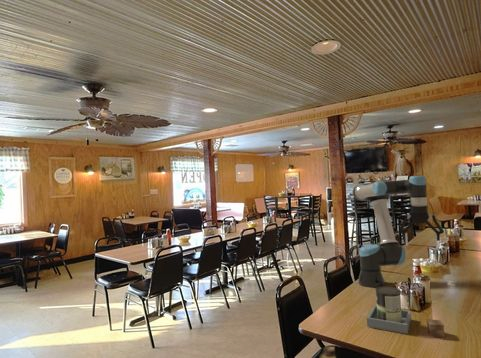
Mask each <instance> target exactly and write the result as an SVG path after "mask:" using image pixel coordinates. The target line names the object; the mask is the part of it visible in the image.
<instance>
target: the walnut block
mask: <svg viewBox="0 0 481 358" xmlns="http://www.w3.org/2000/svg"><path fill="white" fill-rule="evenodd" d="M426 326H427V332H428V334H429V336H430V337H435V338H443V339H444V338H445V325H444V323H443V321H442V320H440V319H429V318H427V319H426Z"/></svg>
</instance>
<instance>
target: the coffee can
mask: <svg viewBox="0 0 481 358" xmlns="http://www.w3.org/2000/svg"><path fill="white" fill-rule="evenodd" d="M375 298H376V306H377V318H378V319H380V320H386V321H392V322H398V323H402V315H401V310H402V300H401V289H399V288H396V287H393V286H387V285H384V286H381V287H375Z"/></svg>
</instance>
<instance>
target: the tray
mask: <svg viewBox="0 0 481 358" xmlns="http://www.w3.org/2000/svg"><path fill="white" fill-rule="evenodd" d="M401 315H402V323H398V322H392V321H386V320H380V319H378V318H377V305H373V306H372V308H371V310H370V312H369V313H368V315H367V317H366V326H367V327H368V328H372V329H378V330H383V331H389V332H395V333H400V334H404V335H408V334H409V330H410V326H411V322H412V311H411V310H406V309H401Z"/></svg>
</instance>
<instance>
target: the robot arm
mask: <svg viewBox="0 0 481 358" xmlns="http://www.w3.org/2000/svg"><path fill="white" fill-rule="evenodd" d="M403 194H404V195H405V194H406V195H407V194H409V195H410V205H411V206H410V212H411V214H405V215H404V220H403V221H402V223H401V225H400V228H399V229H398V232H399V233H401V234H402V239H403V240H405V247H408V246H409V242H408V240H409V239H408V230H410V228H411V227H413V225H414V224H422V225H423V224H426V225H427V226H428V227H429V228H430V229H431V230H432V231H433V232H434V233H435V234H434V238H435V241H434V242H435V248H438V247H439V244H438V242H439V241H440V240H441V236H440V235H441V234H442V235H443V233H444V230H443V228H442V226H441V225H440V222H438V220H437V219H436V215H435V214H429V211H428V195H427V180H426V176H425V175H411V176H409V178H408V179H399V180H397V179H396V180H379V181H378V180H377V181H374V182H373V183H372V182H370V183H368V182H367V183H359V184H357V185H355V186H354V187H353V189H352V196H353V197H354V198H355V199H356V200H357V201H360V202H361V201H362V202H368V201H369V205H371V206H372V208H373V211H374V216H375V221H376V225H377V230H378V234H379V239H380V243H379V244H375V243H374V244H371V243H370V244H365V245H363V246H361V247H360V248H359V261H360V263H359V265H360V272H359V276H358V281H357V282H358V284H359V285H360V286H364V287H369V288H377V287H382V286H386V285H385V284H386V283H385V279H384V275H383V273H382V269H381V268H382V267H388V266H400V265H404V263H405V261H406V257H407V256H406V249H405V247H404V246H403V245H400V242H399V241H398V240H396V236H395V232H394V228H393V224H392V219H391V215H390V211H389V208H388V202H389V201H390V200H389V199H390V198H391V195H403ZM410 218H411V220H412V221H411V222H410V223H409V224H408V225H407V226H406V223H407V221H408V220H409V219H410ZM429 218H430V220H433V222H434V225H435V226H436V227H437V228H436V227H435V226H434V225H433V224H432V223H431V222H430V221H429ZM405 226H406V228H404V227H405Z"/></svg>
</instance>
